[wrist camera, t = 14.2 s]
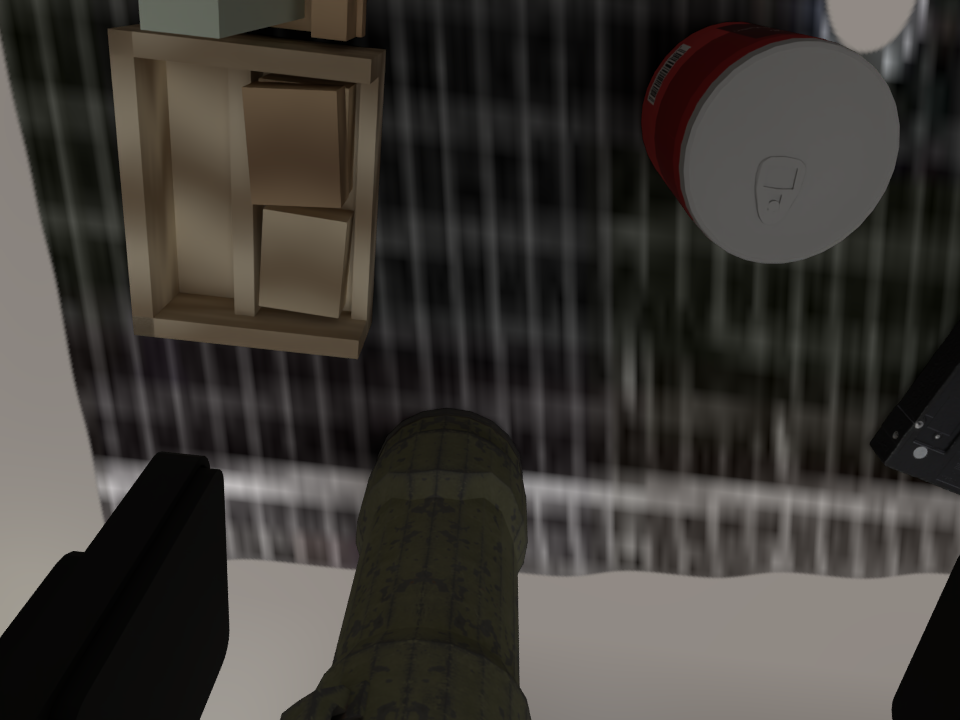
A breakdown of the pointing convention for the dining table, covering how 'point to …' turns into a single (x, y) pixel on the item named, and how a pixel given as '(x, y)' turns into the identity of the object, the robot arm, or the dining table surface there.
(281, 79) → the offcut
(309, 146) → the offcut
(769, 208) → the canned food
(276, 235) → the offcut
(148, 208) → the rack
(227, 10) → the grey-green flat slab
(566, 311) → the dining table surface
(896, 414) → the disk drive
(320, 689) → the thermos
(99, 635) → the robot arm
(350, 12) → the stand
